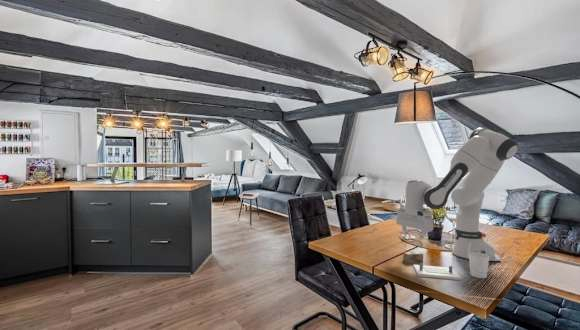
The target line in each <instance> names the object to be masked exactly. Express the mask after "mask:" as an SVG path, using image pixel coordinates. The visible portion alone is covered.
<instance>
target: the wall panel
mask: <svg viewBox="0 0 580 330" xmlns="http://www.w3.org/2000/svg"><path fill="white" fill-rule="evenodd" d="M412 264H413V268H414V271H415V272H416V275H417V277H424V278H425V277H426V278H435V279H445V280H454V281H455V280H456V281H461V280H462V277H461V276H460V275H459V274H458V273H457V271H456V270H455V268H453V266H452V265H449V266H436V265H435V266H434V265H425V264H423V263H419V264H415V263H412Z"/></svg>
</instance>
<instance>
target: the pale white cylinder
mask: <svg viewBox="0 0 580 330" xmlns="http://www.w3.org/2000/svg"><path fill="white" fill-rule="evenodd" d="M468 261H469V262H468V263H469V275H470V276H471V277H474V278H477V279H487V277H488V273H489V272H488V271H489V262H490V261H489V256H488V255H487V254H484V253H479V252H470V253H469V259H468Z"/></svg>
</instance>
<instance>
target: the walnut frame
mask: <svg viewBox="0 0 580 330" xmlns="http://www.w3.org/2000/svg"><path fill="white" fill-rule="evenodd" d="M402 255H403V257H402V259H403V260H402V261H403V262H404V263H406V264H418V263H419V264H420V263H421V264H423V263H424V253H422V252H421V251H406V252H405V251H404V252H403V254H402Z"/></svg>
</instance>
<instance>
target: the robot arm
mask: <svg viewBox="0 0 580 330" xmlns="http://www.w3.org/2000/svg"><path fill="white" fill-rule="evenodd" d="M518 151H519V144H518V141H516V140H515V139H513V138H510V137H508V136H507V135H504V134H503V133H500V132H496V131H494V130H492V129H491V130H490V129H489V128H486V127H478V128H475V129H474V130H473V131H472V132H471V133H470V135H469V138H468V140H466V142H465V143H463V145H461V146H460V148H458V150H457V151H456V152H455V154H454V155H453V157H452V158H451V160H450V167H449V170H448V172H447V174H446V175H445V176H444V177H443V179H442V180H440V182H439V183H438V185H436V186H434V185H431V184H429V183H427V182H424V180H422V179H412V180H409V181H408V182H407V183H406V185H405V203H404V207H405V208H403V207H399V208H398V209H397V214H396V220H395V221H396V224H397V225H398V226H401V228H402V231H403V235H409V230H408V229H407V228H410V229H411V228H412V229H415V230H419V231H421V234H419V239H422V240H423V239H425V234H427V233H428V232H432V231H433V230H434V219H433V217H432V216H433V214H434V213H433V211H431V210H429V209H432V210H440V209H442V208H443V207H445V206H446V205H447V202H448V199H449V195H450V197H451V201H452V203H454V205H456V206H458V211H457V213H456V215H455V216H456V217H455V228H454V243H453V248H452V251H451V253H452V255H454V256H455V257H459V258H460V257H461V258H463V259H467V260H469V253H470V252H479V253H484V254H487V255H488V256H489V262H492V261H493V262H500V261H501V257H500V256H499V255H498V254H496V251H495V248H494V246H493V244H491V243H489V242H488V241H487V240H486V239H484V238H486V236H487V234H486V233H484V232H482V231H480V214H481V210H482V206H483V200H484V199H485V192H484V190H485V189H486V188H487V187H488V186H489V185H490V184H491V183H492V182H493V180H494V179H495V178H496V175H498V173H499V171H500V170H501V168H502V167H503V165H504V163H505V161H506V160H507V161H508V160H509V159H511V158H513V157H514V156H515V155H516V154H517V153H518ZM461 180H462V181H461ZM424 204H425V205H426V206H427V207H428V208H429V209H428V208H425V206H424Z"/></svg>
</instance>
